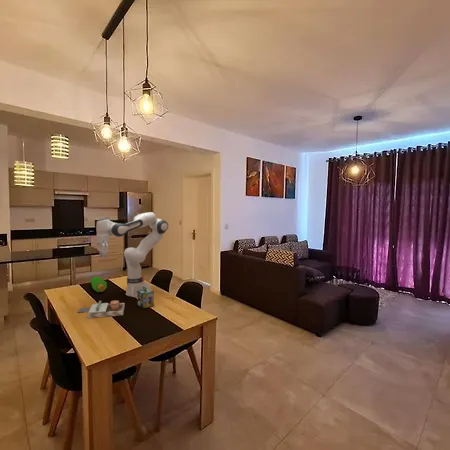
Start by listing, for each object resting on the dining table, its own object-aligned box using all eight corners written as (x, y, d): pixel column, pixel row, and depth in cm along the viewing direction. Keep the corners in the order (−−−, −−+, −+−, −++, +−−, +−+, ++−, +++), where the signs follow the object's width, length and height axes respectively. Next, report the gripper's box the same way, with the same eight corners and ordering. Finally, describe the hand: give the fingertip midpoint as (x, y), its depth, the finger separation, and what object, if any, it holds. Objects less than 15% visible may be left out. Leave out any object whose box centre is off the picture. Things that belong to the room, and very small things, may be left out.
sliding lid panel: (108, 303, 193) (108, 299, 193) (105, 312, 179) (105, 307, 179) (92, 305, 190) (92, 300, 190) (88, 313, 176) (88, 309, 176)
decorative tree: (98, 280, 220) (89, 271, 243) (93, 293, 218) (84, 283, 241) (111, 283, 227) (102, 274, 250) (106, 296, 226) (97, 285, 248)
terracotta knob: (119, 309, 192) (119, 300, 191) (118, 312, 186) (118, 303, 185) (110, 310, 190) (110, 300, 189) (109, 313, 184) (109, 303, 184)
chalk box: (154, 305, 202) (154, 287, 200) (142, 309, 195) (142, 289, 194) (148, 302, 208) (148, 284, 207) (137, 305, 202) (137, 286, 201)
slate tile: (90, 308, 194) (90, 307, 194) (88, 312, 187) (88, 311, 187) (80, 309, 192) (80, 308, 192) (77, 312, 185) (77, 312, 185)
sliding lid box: (124, 307, 197) (124, 302, 197) (123, 315, 183) (122, 311, 182) (92, 310, 190) (91, 305, 190) (87, 319, 176) (87, 314, 176)
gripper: (110, 241, 195) (110, 259, 195) (104, 238, 211) (104, 255, 212) (101, 241, 191) (101, 260, 192) (95, 238, 207) (95, 256, 208)
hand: (102, 258), depth 202 cm, fingers open, 8 cm apart
